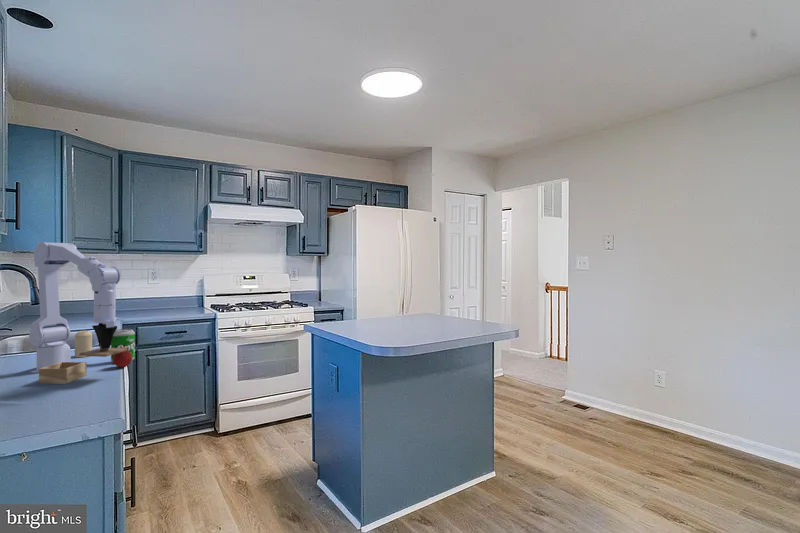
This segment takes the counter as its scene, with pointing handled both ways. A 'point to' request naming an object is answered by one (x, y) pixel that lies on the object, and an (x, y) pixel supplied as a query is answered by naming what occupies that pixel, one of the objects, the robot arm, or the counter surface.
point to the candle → (83, 343)
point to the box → (62, 372)
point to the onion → (122, 358)
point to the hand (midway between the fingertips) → (104, 347)
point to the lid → (103, 352)
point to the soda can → (124, 341)
